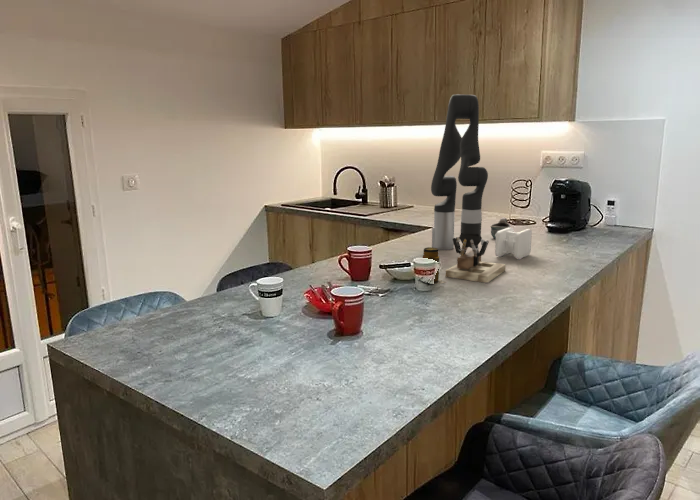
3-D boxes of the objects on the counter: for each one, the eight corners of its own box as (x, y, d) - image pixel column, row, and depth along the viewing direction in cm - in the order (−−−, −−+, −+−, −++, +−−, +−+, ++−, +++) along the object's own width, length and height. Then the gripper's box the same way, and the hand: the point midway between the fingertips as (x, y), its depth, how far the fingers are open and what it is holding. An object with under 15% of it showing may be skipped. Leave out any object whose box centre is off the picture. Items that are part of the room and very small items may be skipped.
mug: (488, 240, 259) (489, 220, 257) (491, 235, 270) (492, 216, 268) (508, 241, 256) (509, 221, 253) (511, 236, 267) (512, 217, 265)
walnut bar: (456, 273, 196) (457, 257, 194) (470, 265, 207) (471, 250, 206) (467, 274, 193) (467, 259, 192) (480, 266, 205) (481, 251, 203)
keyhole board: (445, 276, 195) (445, 270, 195) (465, 265, 211) (466, 259, 211) (487, 283, 186) (487, 276, 186) (505, 270, 203) (505, 264, 202)
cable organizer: (517, 261, 217) (518, 233, 214) (493, 258, 223) (494, 231, 221) (531, 254, 228) (532, 228, 225) (507, 251, 234) (509, 226, 232)
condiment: (432, 277, 195) (433, 245, 192) (446, 282, 188) (447, 250, 185) (416, 279, 192) (416, 247, 189) (429, 285, 185) (430, 252, 182)
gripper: (449, 220, 197) (448, 264, 201) (486, 224, 189) (484, 270, 193) (457, 217, 203) (455, 260, 207) (493, 220, 195) (490, 265, 199)
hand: (469, 265), depth 200 cm, fingers closed on walnut bar, 4 cm apart
